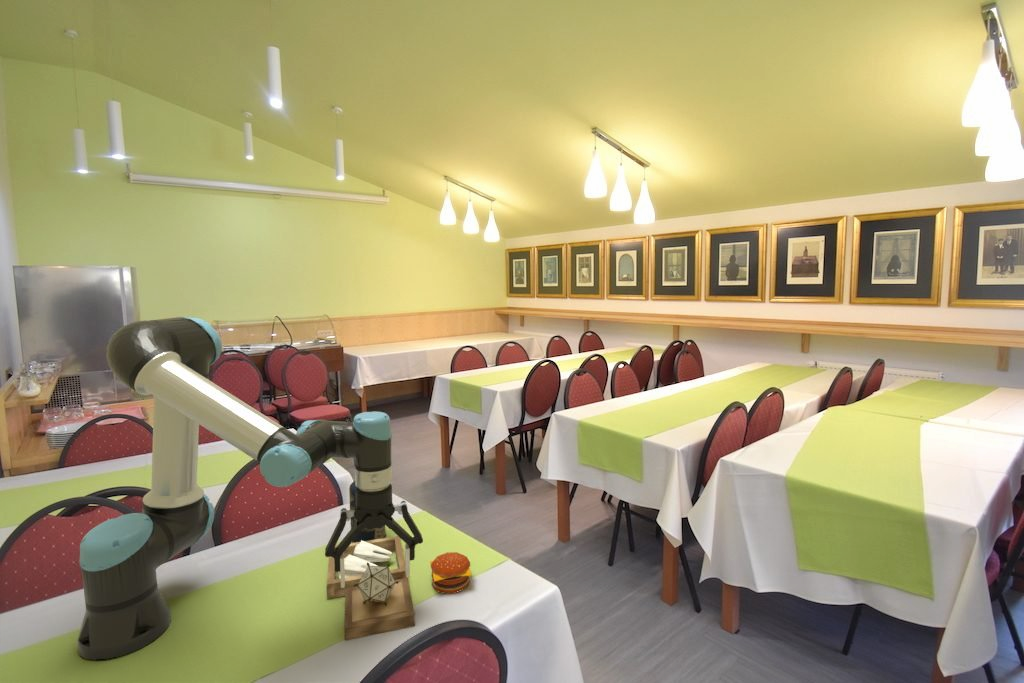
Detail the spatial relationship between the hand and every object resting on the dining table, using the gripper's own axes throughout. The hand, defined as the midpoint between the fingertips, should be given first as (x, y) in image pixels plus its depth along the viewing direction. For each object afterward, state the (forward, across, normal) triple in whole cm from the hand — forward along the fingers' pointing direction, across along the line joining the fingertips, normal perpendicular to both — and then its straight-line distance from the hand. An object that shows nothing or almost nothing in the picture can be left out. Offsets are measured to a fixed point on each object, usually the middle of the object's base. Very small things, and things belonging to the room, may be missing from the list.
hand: (375, 579), depth 110 cm
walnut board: (+8, 0, 0) cm, 8 cm away
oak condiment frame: (+8, -2, +17) cm, 19 cm away
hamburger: (+8, +18, +6) cm, 20 cm away
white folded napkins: (+8, -2, +17) cm, 19 cm away
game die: (+5, 0, 0) cm, 5 cm away
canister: (+8, 0, +33) cm, 34 cm away
